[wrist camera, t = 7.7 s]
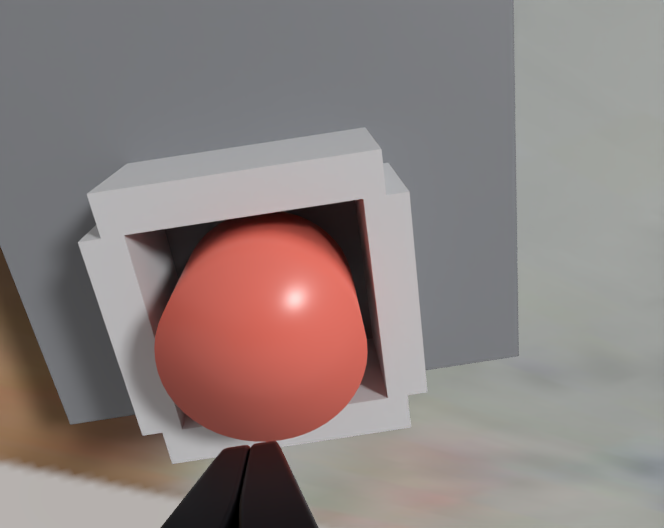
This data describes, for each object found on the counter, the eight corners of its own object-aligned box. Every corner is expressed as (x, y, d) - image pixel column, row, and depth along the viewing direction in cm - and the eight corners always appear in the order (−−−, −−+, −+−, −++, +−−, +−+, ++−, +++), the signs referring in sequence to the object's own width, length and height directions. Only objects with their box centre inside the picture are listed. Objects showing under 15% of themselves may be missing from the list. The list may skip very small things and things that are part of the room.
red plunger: (204, 375, 15) (183, 455, 13) (164, 224, 14) (128, 276, 11) (362, 350, 15) (378, 425, 13) (341, 198, 14) (353, 242, 11)
